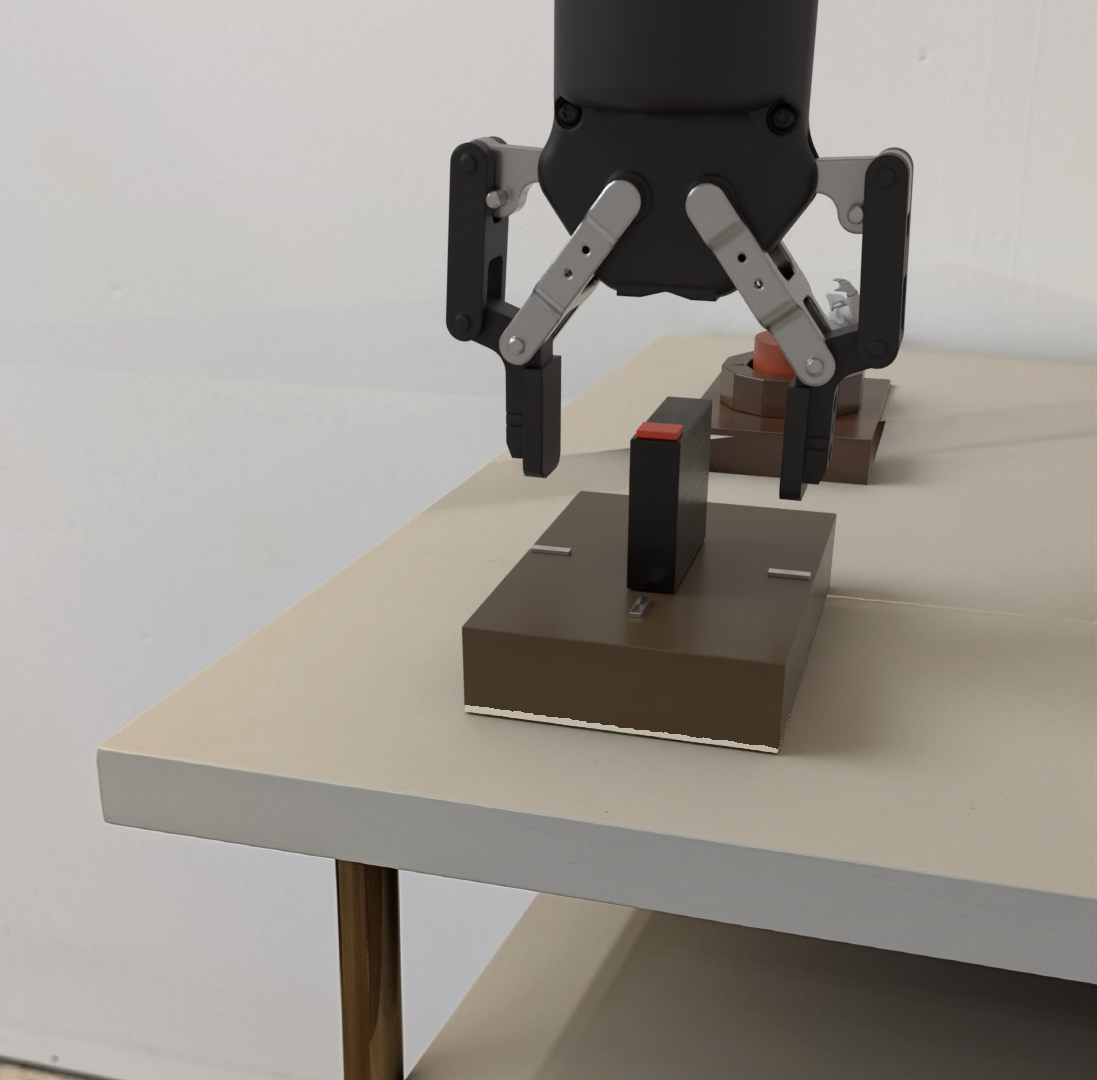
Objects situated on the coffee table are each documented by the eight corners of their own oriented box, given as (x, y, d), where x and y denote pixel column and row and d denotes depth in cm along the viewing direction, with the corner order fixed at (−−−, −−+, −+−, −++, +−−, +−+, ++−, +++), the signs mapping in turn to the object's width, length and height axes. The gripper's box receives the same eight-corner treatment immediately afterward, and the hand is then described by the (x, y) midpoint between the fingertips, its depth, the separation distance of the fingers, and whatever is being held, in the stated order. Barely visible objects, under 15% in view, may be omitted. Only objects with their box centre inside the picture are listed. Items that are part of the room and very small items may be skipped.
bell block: (720, 408, 77) (724, 334, 76) (886, 420, 75) (894, 344, 73) (676, 470, 67) (680, 387, 65) (866, 486, 65) (876, 400, 63)
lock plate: (579, 561, 56) (580, 486, 55) (829, 587, 54) (837, 508, 52) (463, 713, 45) (460, 621, 43) (778, 754, 42) (786, 659, 41)
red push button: (759, 361, 72) (761, 326, 71) (837, 366, 71) (841, 331, 70) (746, 379, 68) (749, 343, 68) (829, 385, 67) (832, 348, 67)
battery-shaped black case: (661, 534, 50) (666, 388, 48) (705, 538, 50) (713, 392, 48) (625, 589, 46) (630, 431, 43) (673, 594, 45) (680, 435, 43)
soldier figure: (716, 408, 81) (760, 306, 89) (776, 463, 82) (814, 357, 90) (812, 327, 76) (850, 225, 83) (874, 387, 77) (906, 281, 85)
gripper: (956, -76, 40) (890, 470, 48) (489, -72, 44) (496, 435, 51) (946, -91, 34) (872, 541, 42) (400, -85, 38) (422, 496, 45)
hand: (664, 482), depth 46 cm, fingers open, 8 cm apart
